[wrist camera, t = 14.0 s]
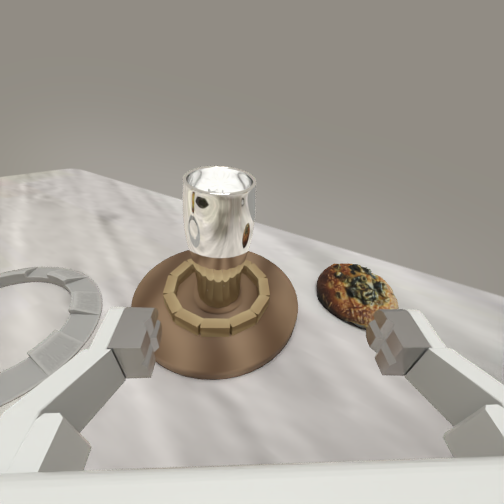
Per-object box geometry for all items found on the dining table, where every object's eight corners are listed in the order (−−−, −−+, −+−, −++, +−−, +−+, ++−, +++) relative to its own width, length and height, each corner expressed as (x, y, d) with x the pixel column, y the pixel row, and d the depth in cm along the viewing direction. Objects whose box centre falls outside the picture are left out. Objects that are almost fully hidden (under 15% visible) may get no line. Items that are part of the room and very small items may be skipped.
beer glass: (184, 282, 33) (172, 167, 24) (234, 271, 36) (241, 163, 27) (198, 324, 28) (190, 199, 19) (255, 308, 31) (272, 190, 22)
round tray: (283, 256, 42) (286, 241, 40) (312, 378, 26) (319, 362, 24) (156, 251, 40) (153, 235, 38) (105, 380, 24) (96, 363, 23)
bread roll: (299, 280, 38) (311, 253, 35) (353, 272, 43) (367, 247, 40) (349, 345, 30) (370, 317, 27) (407, 326, 35) (430, 301, 32)
